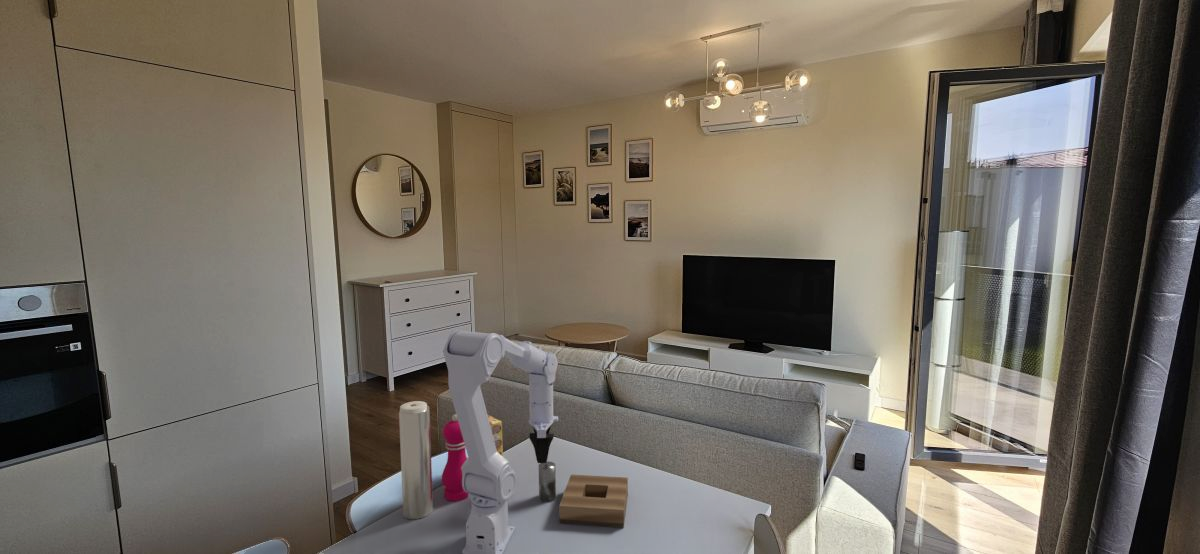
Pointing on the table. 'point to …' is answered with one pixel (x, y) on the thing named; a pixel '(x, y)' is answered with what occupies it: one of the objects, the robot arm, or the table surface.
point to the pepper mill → (454, 461)
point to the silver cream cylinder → (416, 459)
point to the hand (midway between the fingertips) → (542, 455)
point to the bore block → (594, 501)
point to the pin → (547, 482)
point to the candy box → (496, 433)
